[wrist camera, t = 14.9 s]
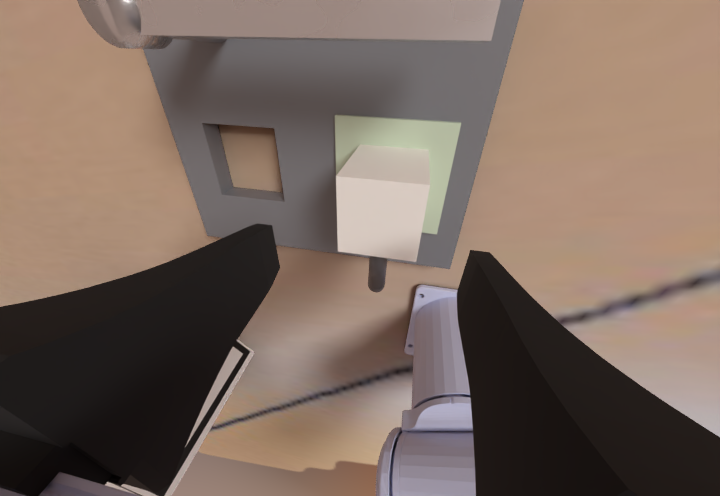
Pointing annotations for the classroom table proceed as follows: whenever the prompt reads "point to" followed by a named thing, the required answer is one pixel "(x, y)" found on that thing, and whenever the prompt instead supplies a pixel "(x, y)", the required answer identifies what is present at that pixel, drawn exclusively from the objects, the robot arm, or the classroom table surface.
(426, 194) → the plug
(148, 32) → the ball-topped lever
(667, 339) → the classroom table surface
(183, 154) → the socket plate
